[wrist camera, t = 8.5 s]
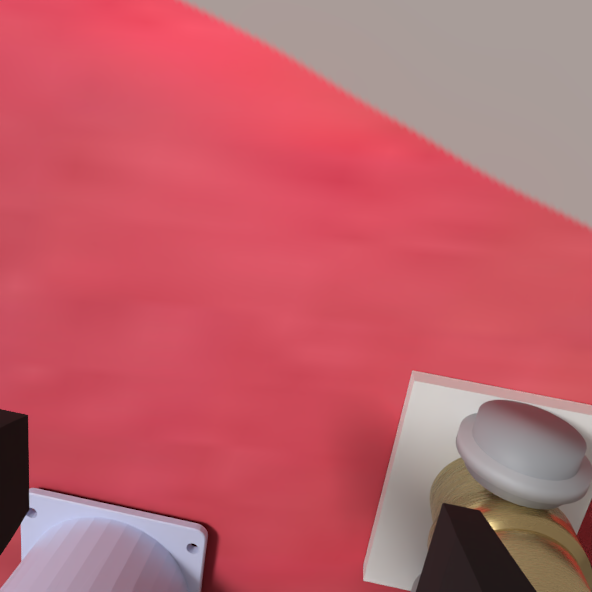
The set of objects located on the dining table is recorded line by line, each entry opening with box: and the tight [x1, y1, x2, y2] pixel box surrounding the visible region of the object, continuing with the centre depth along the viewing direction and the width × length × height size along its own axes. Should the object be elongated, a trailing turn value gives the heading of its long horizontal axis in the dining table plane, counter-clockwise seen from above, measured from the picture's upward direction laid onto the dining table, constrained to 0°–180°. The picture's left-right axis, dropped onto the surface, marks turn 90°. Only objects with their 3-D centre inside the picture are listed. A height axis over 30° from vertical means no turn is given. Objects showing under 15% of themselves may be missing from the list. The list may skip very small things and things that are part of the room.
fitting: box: [363, 370, 592, 592], centre depth 18 cm, size 9×7×4 cm
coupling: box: [427, 458, 592, 592], centre depth 17 cm, size 5×5×6 cm
